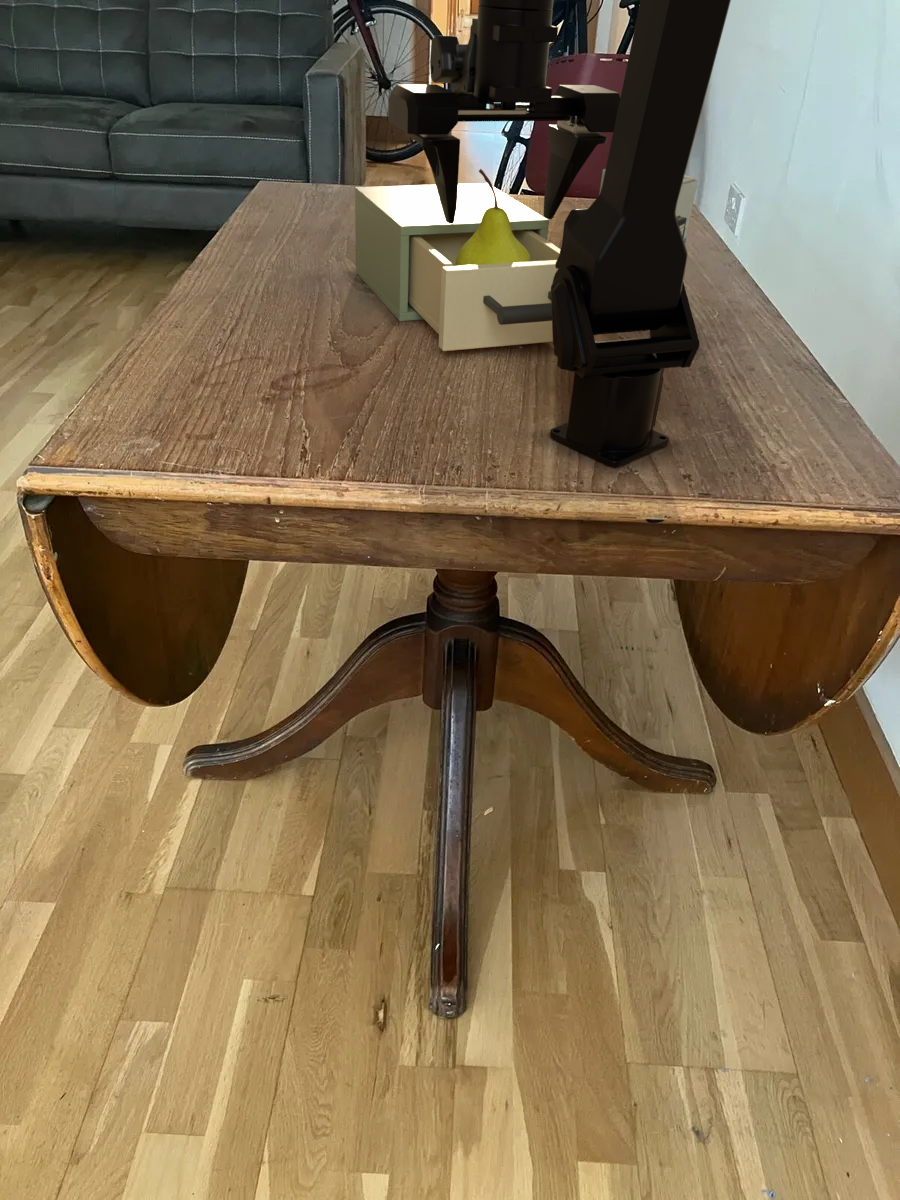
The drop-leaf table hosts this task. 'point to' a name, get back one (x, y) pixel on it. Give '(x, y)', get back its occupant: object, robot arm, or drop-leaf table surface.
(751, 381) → the drop-leaf table surface
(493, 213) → the fruit
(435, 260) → the drawer
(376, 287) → the cabinet
